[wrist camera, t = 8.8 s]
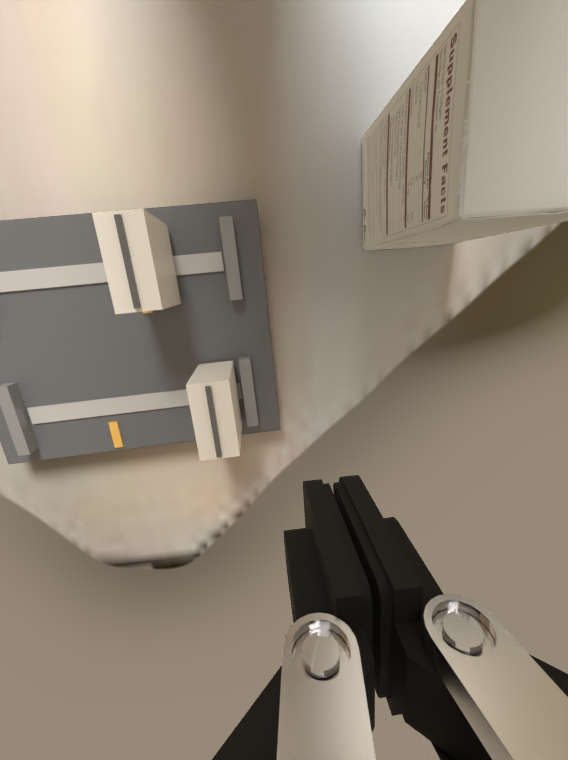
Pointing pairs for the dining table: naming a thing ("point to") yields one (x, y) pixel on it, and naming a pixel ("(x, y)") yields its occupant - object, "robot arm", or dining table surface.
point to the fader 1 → (137, 260)
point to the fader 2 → (215, 410)
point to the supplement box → (474, 132)
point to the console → (127, 334)
